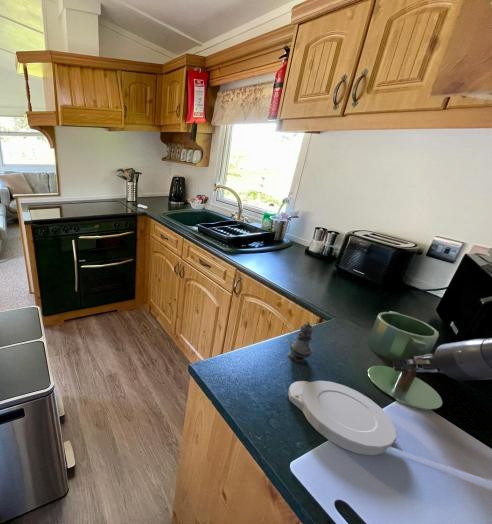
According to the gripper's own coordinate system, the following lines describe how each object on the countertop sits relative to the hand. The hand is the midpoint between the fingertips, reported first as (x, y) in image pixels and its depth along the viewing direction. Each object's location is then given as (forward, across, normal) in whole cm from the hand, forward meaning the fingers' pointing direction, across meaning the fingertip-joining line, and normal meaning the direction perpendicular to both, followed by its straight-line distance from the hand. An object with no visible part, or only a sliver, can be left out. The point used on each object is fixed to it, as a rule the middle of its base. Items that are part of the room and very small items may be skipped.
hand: (402, 367), depth 74 cm
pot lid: (+2, 0, -5) cm, 5 cm away
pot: (+13, +10, +6) cm, 18 cm away
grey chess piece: (+9, -22, +2) cm, 24 cm away
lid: (-5, -23, -12) cm, 27 cm away
